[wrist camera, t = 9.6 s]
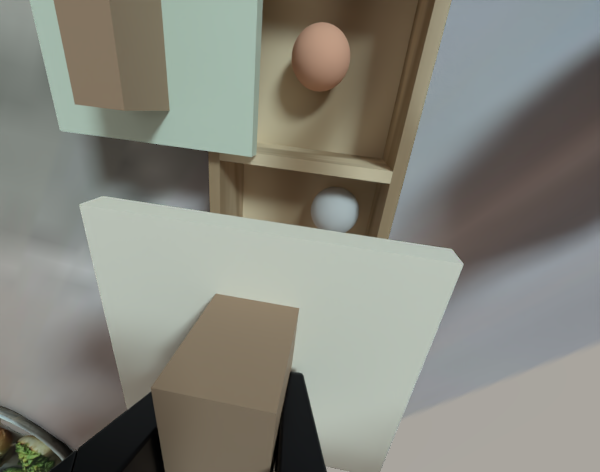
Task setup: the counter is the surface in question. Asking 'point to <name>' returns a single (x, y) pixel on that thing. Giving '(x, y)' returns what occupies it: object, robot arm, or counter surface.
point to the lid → (263, 329)
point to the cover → (155, 70)
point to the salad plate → (28, 446)
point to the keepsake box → (334, 114)
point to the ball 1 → (321, 56)
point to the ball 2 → (335, 209)
